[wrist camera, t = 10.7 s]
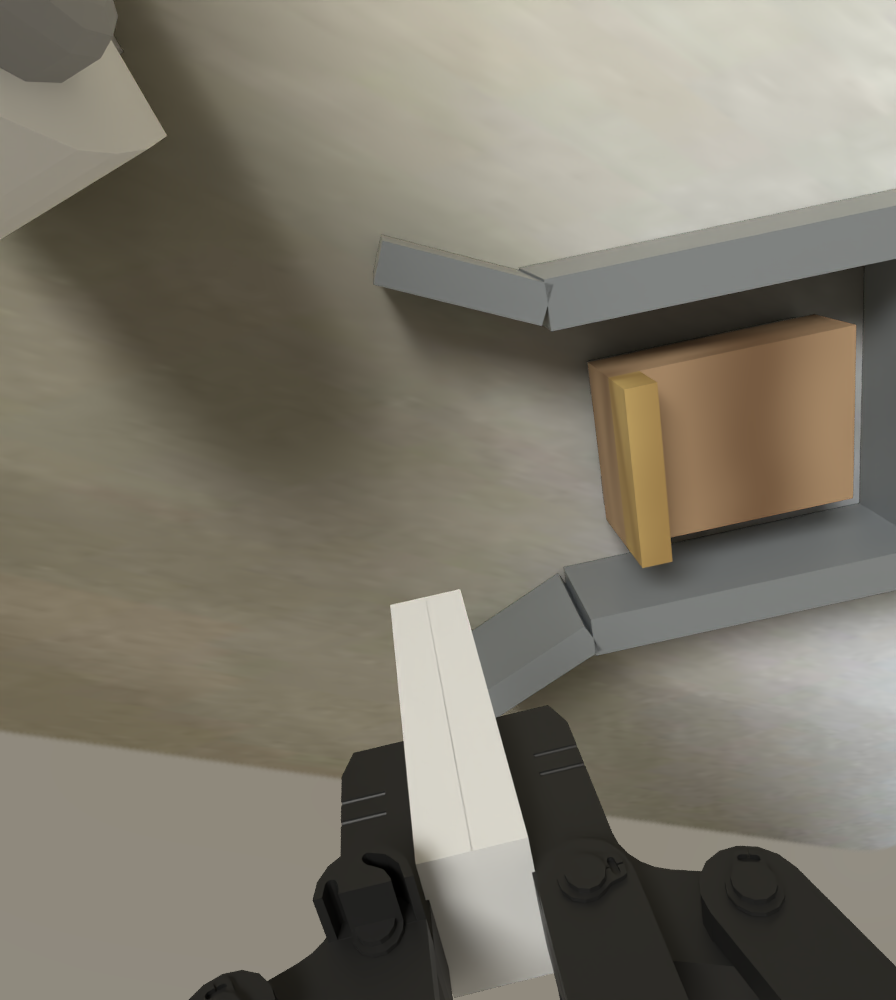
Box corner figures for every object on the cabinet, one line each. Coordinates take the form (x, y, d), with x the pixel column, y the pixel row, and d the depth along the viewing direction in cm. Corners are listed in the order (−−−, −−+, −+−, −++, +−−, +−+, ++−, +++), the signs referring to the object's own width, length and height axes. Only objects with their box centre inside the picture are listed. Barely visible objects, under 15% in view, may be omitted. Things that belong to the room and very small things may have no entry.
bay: (459, 664, 31) (472, 728, 27) (365, 237, 24) (364, 244, 21) (893, 570, 31) (963, 620, 27) (911, 123, 25) (1007, 110, 21)
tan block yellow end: (598, 509, 29) (642, 568, 24) (580, 356, 27) (624, 389, 22) (800, 465, 29) (882, 516, 24) (799, 310, 27) (888, 333, 22)
